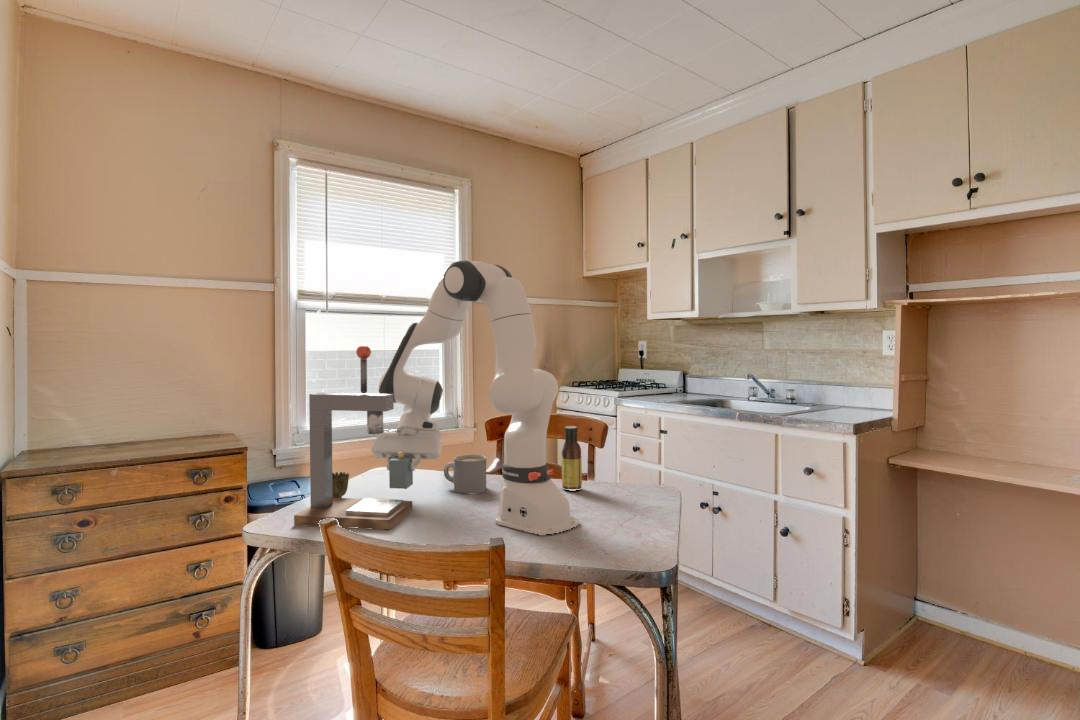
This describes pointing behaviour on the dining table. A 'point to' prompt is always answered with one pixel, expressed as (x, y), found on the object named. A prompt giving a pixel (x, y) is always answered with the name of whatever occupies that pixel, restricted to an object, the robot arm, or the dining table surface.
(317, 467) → the press frame
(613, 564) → the dining table surface
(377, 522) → the press base
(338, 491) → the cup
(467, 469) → the coffee mug
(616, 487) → the dining table surface
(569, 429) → the sauce bottle
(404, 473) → the housing
